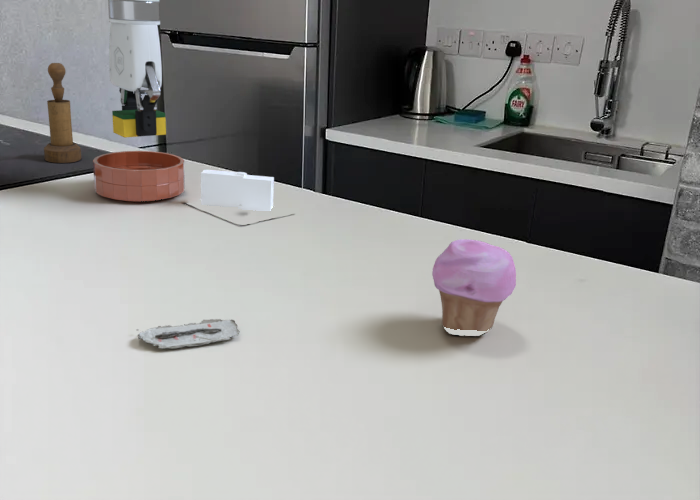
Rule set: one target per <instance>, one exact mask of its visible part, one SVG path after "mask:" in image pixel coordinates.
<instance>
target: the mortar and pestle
mask: <svg viewBox="0 0 700 500" xmlns="http://www.w3.org/2000/svg"><path fill="white" fill-rule="evenodd" d="M47 72H48V75H49V77H50V78H51V80H52V83H53V85H52V86H51V87H50V89H51V90H50V91H51V92H52V96H53V99H49V100H47V101H46V104H47V105H46V106H47V113H48V126H49V137H50V139H49V140H50V142H49V143H47V144H46V145H45V146H44V147H43V153H44V154H43V156H44V160H45V161H46V162H48V163H53V164H68V163H69V164H70V163H75V162H76V163H77V162H79V161H81V160H82V148H81V146H80V145H78V144H77V143H76V142H74V138H73V126H72V111H71V109H72V108H71V101H70V99H64V94H65V87H64V86H63V84H62V83H63V80H64V78H65V76H66V73H67V72H66V67H65V66H64V65H63V64H62V63H61V62H50V64H49V65H48V67H47Z"/></svg>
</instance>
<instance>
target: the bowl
mask: <svg viewBox="0 0 700 500" xmlns="http://www.w3.org/2000/svg"><path fill="white" fill-rule="evenodd" d="M92 170H93V171H92V172H93V188H94V191H95V193H96V194H97V195H99V196H101V197H104V198H108V199H112V200H116V201H122V202H131V203H133V202H134V203H135V202H136V203H142V202H143V201H144V202H143V203H145V201H147V202H156V201H162V200H166V199H171V198H175V197H177V196H178V197H179V196H180V195H181V194H183V193H184V192H185V187H186V185H185V178H186V177H185V160H184V158H182V157H181V156H179V155H176V154H173V153H169V152H162V151H153V150H123V151H114V152H107V153H103V154H100V155H98V156H95V157H94V158H93V160H92ZM161 199H162V200H161ZM155 200H156V201H155ZM141 201H142V202H141Z"/></svg>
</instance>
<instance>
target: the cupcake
mask: <svg viewBox="0 0 700 500" xmlns="http://www.w3.org/2000/svg"><path fill="white" fill-rule="evenodd" d="M516 269H517V268H516V265H515V262H514V259H513V256H512V255H511V253H510V252H509V251H507V250H506V249H505V248H503V247H500V246H497V245H493V244H490V243H488V242H485V241H482V240H476V239H467V238H464V239H463V238H461V239H460V238H459V239H456V240H453V241H451V242H450V243H449V245H448V246H447V247H446V248H445V249H444V250H443V251H442V253H441V254H440V253H439V255H438V256H436V258H435V261H434V264H433V267H432V271H431V275H432V279H433V284H434V287H435V288H436V289H437V290H438V292H439V296H440V300H441V301H440V302H441V310H442V312H441V313H442V314H441V324H442V327H443V326H444V327H446V328H450V329H454V330H457V329H460V330H477V331H487V330H488V329H490V328H491V327H492V328H493V327H494V323H495V319H496V317H497V314H498V312H499V308H500V306H501V305H502V303H503V302H504V301H506V300H507V299H508V298H509V297H510V296H511V295H512V294H513V292H514V291H515V289H516V286H517V271H516ZM492 328H491V329H492Z"/></svg>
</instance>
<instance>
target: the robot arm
mask: <svg viewBox="0 0 700 500" xmlns="http://www.w3.org/2000/svg"><path fill="white" fill-rule="evenodd" d="M107 7H108V8H107V9H108V10H107V11H108V22H109V23H110V27H109V43H108V45H109V46H108V49H109V51H108V52H109V53H108V54H109V56H108V57H109V62H108V63H109V81H110V83H111V84H112V85H113V86H114V87H116V88H118V89H119V90H118V91H119V93H120V104H121V110H136V111H135V121H136V135H137V136H140V137H152V136H157V135H156V134H157V128H156V110H158V105H157V104H158V100H159V98H160V96H161V94H162V93H161V91H162V90H161V88H162V85H163V66H162V53H161V52H162V51H161V41H160V34H159V27H158V26H160V25H161V6H160V0H107ZM141 88H145V89H141ZM143 95H144V96H143Z"/></svg>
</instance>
